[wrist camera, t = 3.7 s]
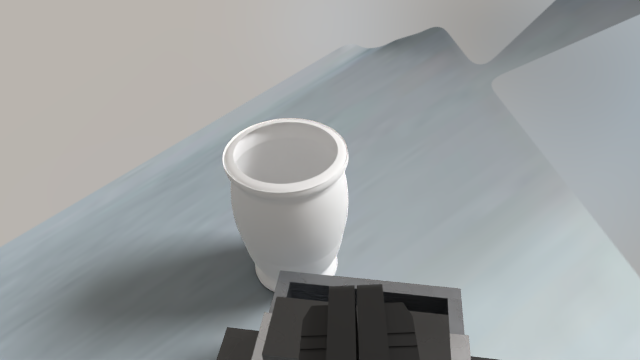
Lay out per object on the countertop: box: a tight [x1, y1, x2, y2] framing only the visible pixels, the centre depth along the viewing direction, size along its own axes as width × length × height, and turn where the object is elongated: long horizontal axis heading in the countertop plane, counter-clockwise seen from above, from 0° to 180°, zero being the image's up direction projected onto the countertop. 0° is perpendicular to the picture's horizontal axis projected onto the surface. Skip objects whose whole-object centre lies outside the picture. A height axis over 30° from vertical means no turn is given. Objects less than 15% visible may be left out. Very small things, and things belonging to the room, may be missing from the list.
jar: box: [223, 118, 348, 292], centre depth 45 cm, size 11×10×15 cm
